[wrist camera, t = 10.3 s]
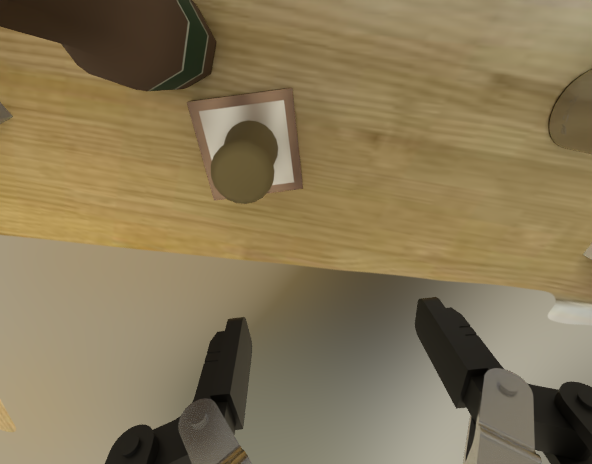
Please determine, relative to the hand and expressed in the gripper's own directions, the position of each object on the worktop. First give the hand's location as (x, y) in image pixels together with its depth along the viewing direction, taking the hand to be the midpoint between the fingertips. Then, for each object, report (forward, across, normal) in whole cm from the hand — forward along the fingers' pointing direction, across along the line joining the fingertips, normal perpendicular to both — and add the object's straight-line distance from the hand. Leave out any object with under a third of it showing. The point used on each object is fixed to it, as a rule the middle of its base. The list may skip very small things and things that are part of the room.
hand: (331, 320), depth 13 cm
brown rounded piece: (+23, +5, -4) cm, 24 cm away
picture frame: (+25, +6, -4) cm, 26 cm away
